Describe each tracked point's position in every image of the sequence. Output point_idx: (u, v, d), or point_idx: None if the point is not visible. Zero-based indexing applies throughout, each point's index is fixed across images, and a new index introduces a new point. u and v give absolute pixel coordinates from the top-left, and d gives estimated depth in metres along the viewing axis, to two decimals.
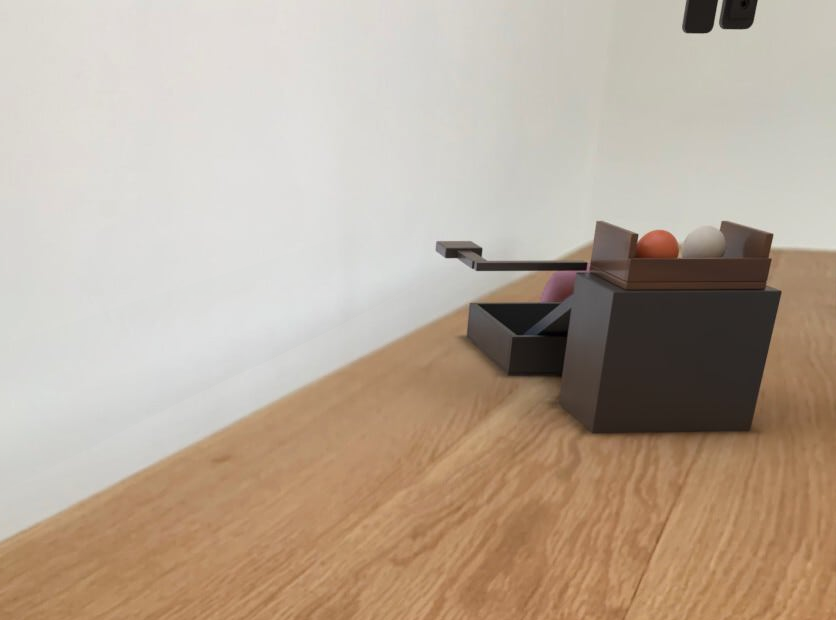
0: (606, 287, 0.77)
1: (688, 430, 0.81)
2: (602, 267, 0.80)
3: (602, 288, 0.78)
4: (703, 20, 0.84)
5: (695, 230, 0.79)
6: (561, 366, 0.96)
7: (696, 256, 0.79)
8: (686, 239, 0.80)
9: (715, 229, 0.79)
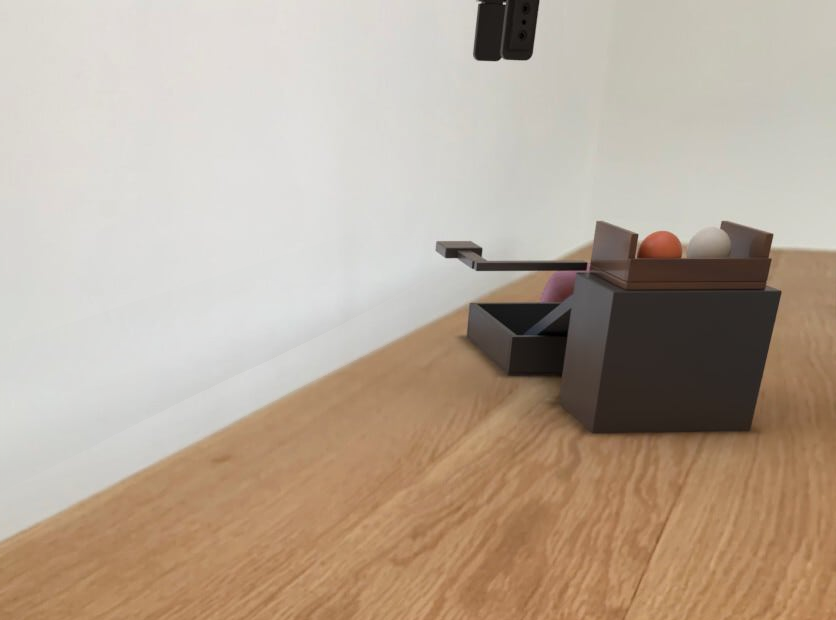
0: (606, 287, 0.77)
1: (688, 430, 0.81)
2: (602, 267, 0.80)
3: (602, 288, 0.78)
4: (493, 48, 0.86)
5: (703, 237, 0.78)
6: (561, 366, 0.96)
7: None
8: (693, 242, 0.79)
9: (722, 240, 0.78)
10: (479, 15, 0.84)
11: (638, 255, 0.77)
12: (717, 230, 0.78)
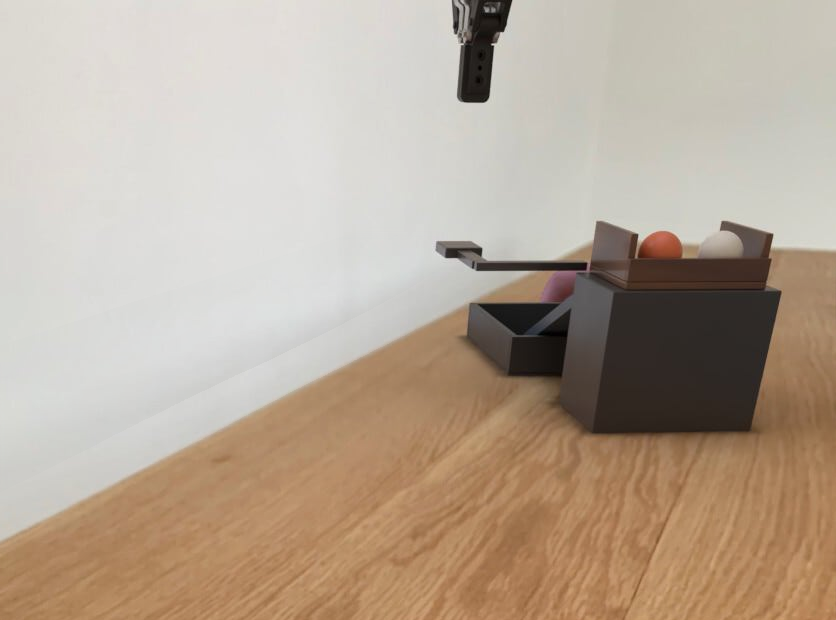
0: (606, 287, 0.77)
1: (688, 430, 0.81)
2: (602, 267, 0.80)
3: (602, 288, 0.78)
4: None
5: None
6: (561, 366, 0.96)
7: None
8: (704, 256, 0.77)
9: None
10: (462, 57, 0.83)
11: (638, 255, 0.77)
12: None
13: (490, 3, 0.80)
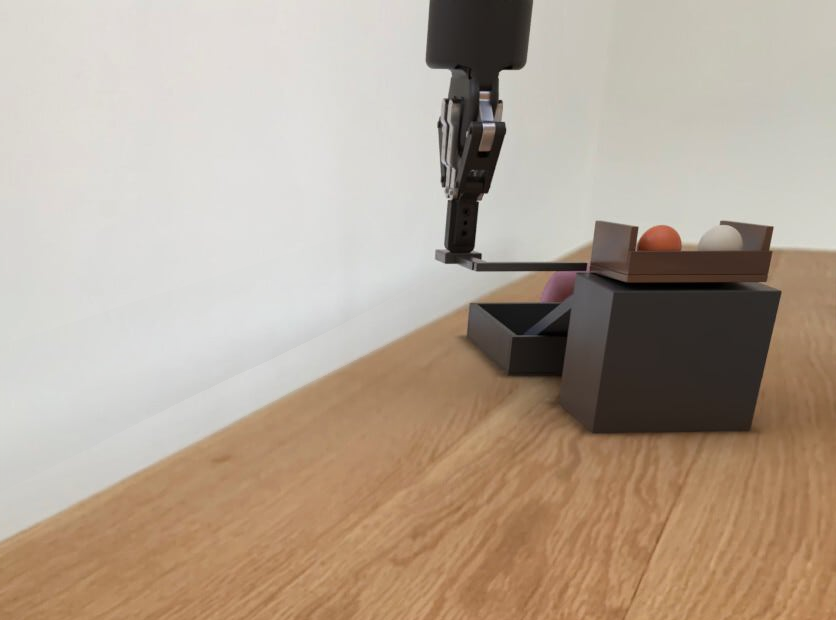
0: (606, 287, 0.77)
1: (688, 430, 0.81)
2: (602, 265, 0.80)
3: (602, 288, 0.78)
4: None
5: None
6: (561, 366, 0.96)
7: None
8: (704, 249, 0.77)
9: None
10: (449, 211, 0.88)
11: (637, 249, 0.77)
12: None
13: None
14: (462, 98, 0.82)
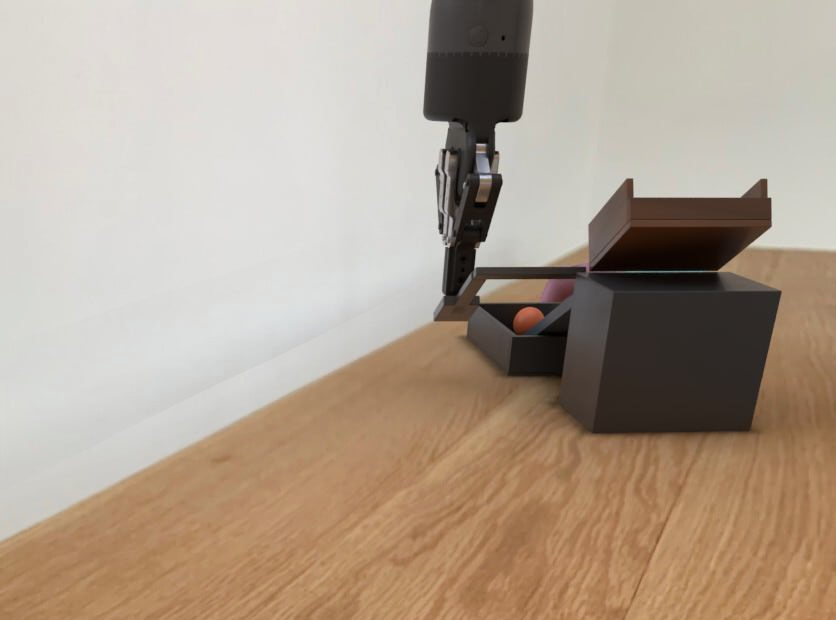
0: (606, 287, 0.77)
1: (688, 430, 0.81)
2: (602, 247, 0.80)
3: (602, 288, 0.78)
4: None
5: None
6: (561, 366, 0.96)
7: None
8: None
9: None
10: (446, 258, 0.89)
11: (513, 322, 1.07)
12: None
13: None
14: (459, 150, 0.84)
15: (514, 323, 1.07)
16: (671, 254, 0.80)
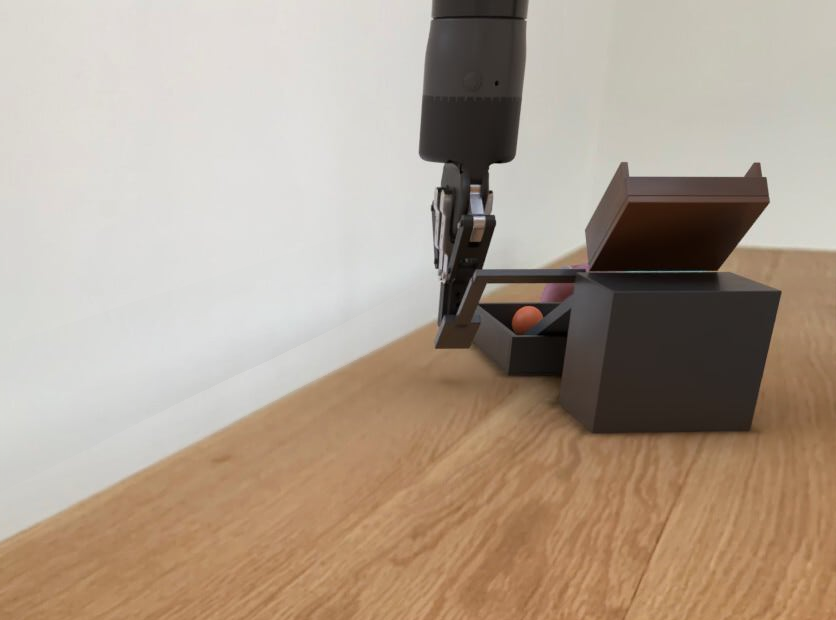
0: (606, 287, 0.77)
1: (688, 430, 0.81)
2: (600, 240, 0.80)
3: (602, 288, 0.78)
4: None
5: None
6: (561, 366, 0.96)
7: None
8: None
9: None
10: (441, 293, 0.91)
11: (512, 322, 1.07)
12: None
13: None
14: (454, 189, 0.86)
15: (513, 322, 1.07)
16: (670, 245, 0.80)
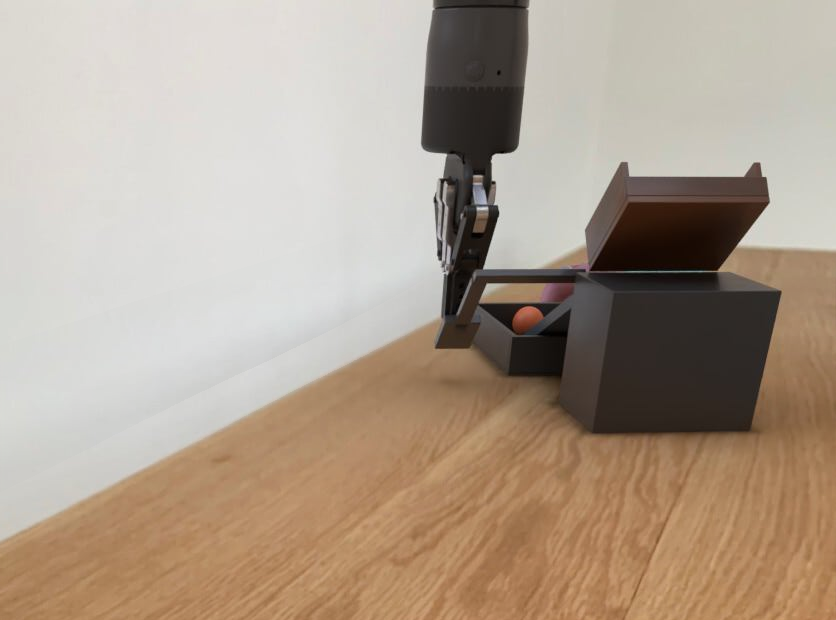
0: (606, 287, 0.77)
1: (688, 430, 0.81)
2: (600, 240, 0.80)
3: (602, 288, 0.78)
4: None
5: None
6: (561, 366, 0.96)
7: None
8: None
9: None
10: (445, 285, 0.91)
11: (513, 322, 1.07)
12: None
13: None
14: (456, 180, 0.85)
15: (513, 322, 1.07)
16: (670, 245, 0.80)
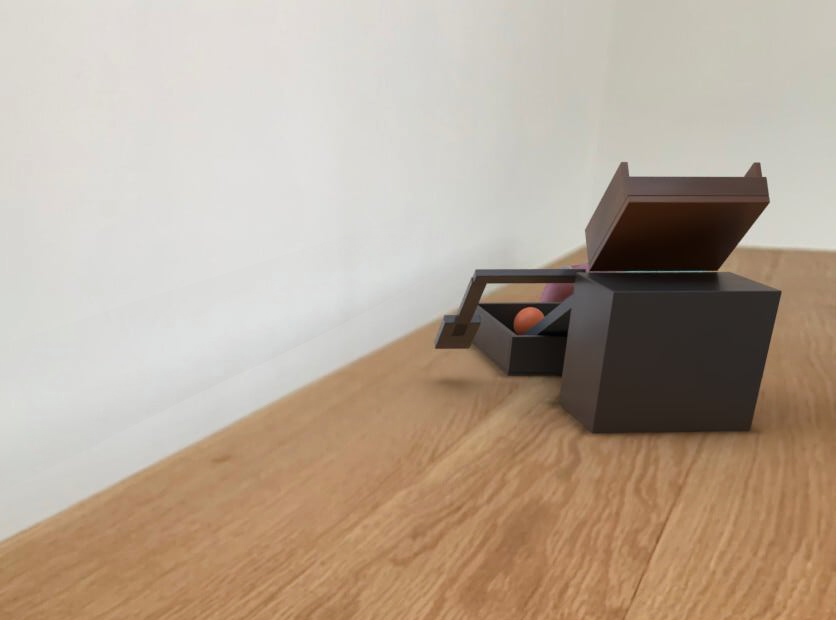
0: (606, 287, 0.77)
1: (688, 430, 0.81)
2: (600, 240, 0.80)
3: (602, 288, 0.78)
4: None
5: None
6: (561, 366, 0.96)
7: None
8: None
9: None
10: None
11: (514, 323, 1.07)
12: None
13: None
14: None
15: (514, 323, 1.07)
16: (670, 245, 0.80)
